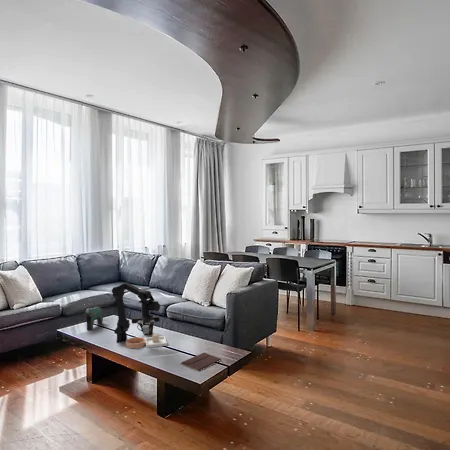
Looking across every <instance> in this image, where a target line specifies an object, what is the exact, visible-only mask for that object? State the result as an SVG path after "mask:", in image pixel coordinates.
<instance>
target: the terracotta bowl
mask: <svg viewBox="0 0 450 450" xmlns="http://www.w3.org/2000/svg"><path fill="white" fill-rule="evenodd" d="M144 346H146V342H145V338H143V337H141V336H140V337H139V336H138V337H130V338H129V339H128V338H127V340H126V342H125V348H129V349H140V348H142V347H144Z"/></svg>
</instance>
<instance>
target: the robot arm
mask: <svg viewBox="0 0 450 450" xmlns="http://www.w3.org/2000/svg"><path fill="white" fill-rule="evenodd" d="M125 291H128V292H130V293H132V294H134V295H135V296H137V297H138V298H139V299H140V300H139V301H138V303H140V304H141V313H140V314H141V317H138V316H133V317H131V324H133V325H134V324H137V325H139V327H140V330H142V331H141V332H142V333H143V327H142V325H143V324H142V322H143V323H149V331H150V328H151V325H152V324H153V323H154V324H155V323H158V322H160V316H159V315H153V314H152V315H151V311H152V312H156V313H157V312H159V311H160V309H161V305H160V303H159V301H158V300H155V298H154V297H153V294H152V292H151V291H150V290H147V289H142V288H139V287H137V286H135V285H134V284H131V283H129V282H124V283H122V284H119V285H117V286H115V287H112V289H111V294H112V296H113V298H114V299H115V303H116V304H115V305H116V310H117V311H116V312H117V317H118V320H117V323H116V327H115V329H114V330H113V332H114V334H115V335H116V343H126V340H128V333H127V332H128V331H129V328H130V326H131V324H130V319H127V317H126V311H125V304H124V296H125Z"/></svg>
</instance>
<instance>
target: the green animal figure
mask: <svg viewBox="0 0 450 450" xmlns="http://www.w3.org/2000/svg"><path fill="white" fill-rule="evenodd" d="M93 305H95V303H94V302H93V303H91V307H88V308H86V310H85V313H84V314H85V316H86V331H92V330H93V329H94V324H95V320H96V322H97V325H99V324H100V325H102V324H103V322H104V312H103V309H102V307H101V305H99V304H98V305H95V306H93Z"/></svg>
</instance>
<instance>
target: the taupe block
mask: <svg viewBox="0 0 450 450" xmlns="http://www.w3.org/2000/svg"><path fill="white" fill-rule="evenodd" d="M151 337H152V341H153V342H159V334H158V333H153V334H152V336H151Z"/></svg>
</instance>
